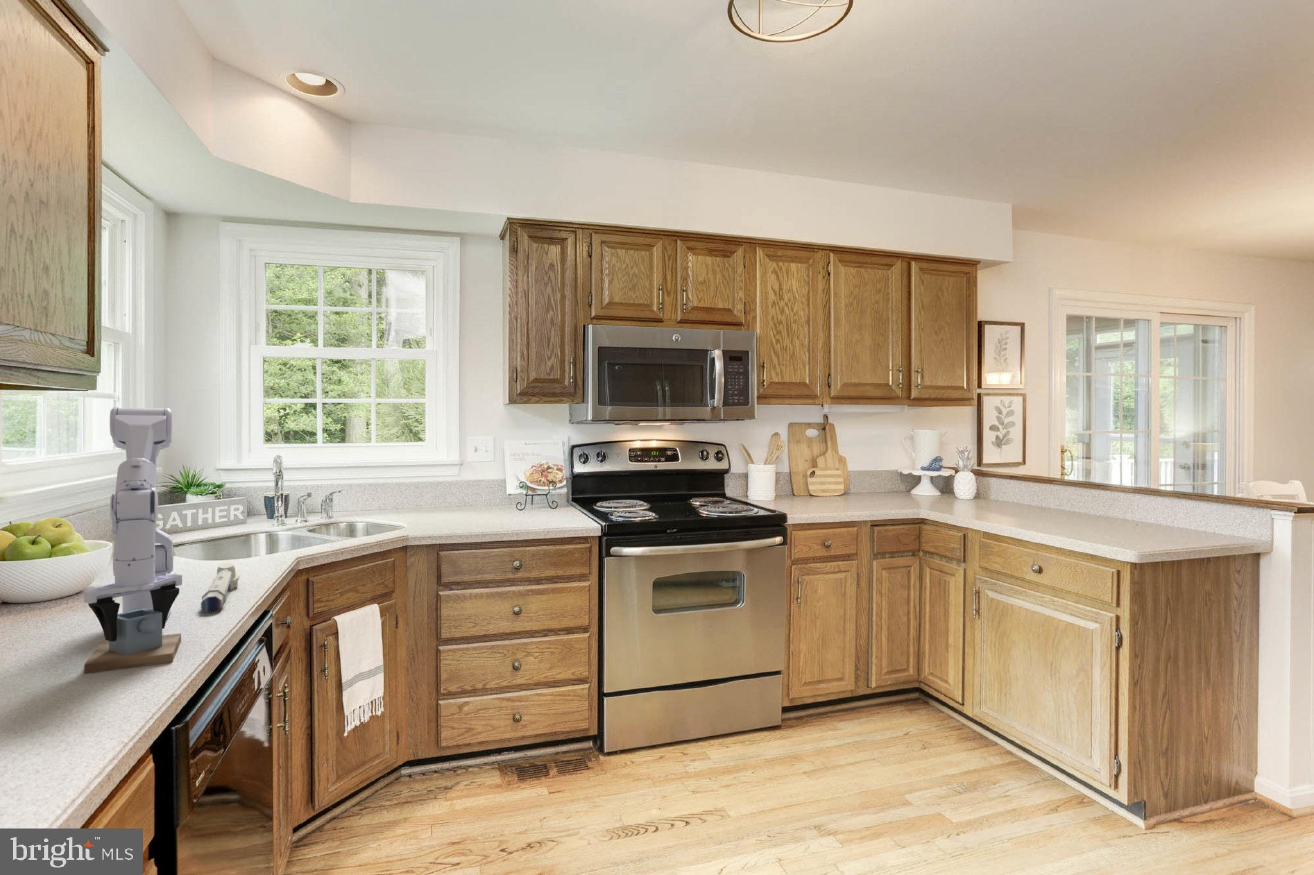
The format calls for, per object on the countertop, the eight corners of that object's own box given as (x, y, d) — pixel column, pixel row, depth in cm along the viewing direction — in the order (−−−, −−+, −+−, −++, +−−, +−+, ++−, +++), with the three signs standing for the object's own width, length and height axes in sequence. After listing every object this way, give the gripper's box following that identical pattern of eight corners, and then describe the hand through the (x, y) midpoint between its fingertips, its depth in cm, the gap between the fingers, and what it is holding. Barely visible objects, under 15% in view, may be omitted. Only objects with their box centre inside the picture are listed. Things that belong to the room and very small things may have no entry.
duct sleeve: (108, 649, 120) (108, 615, 120) (144, 640, 125) (144, 608, 125) (133, 657, 117) (132, 622, 117) (168, 647, 122) (168, 614, 122)
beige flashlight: (196, 597, 147) (215, 557, 169) (197, 626, 148) (216, 583, 170) (225, 594, 149) (240, 556, 171) (226, 623, 150) (240, 581, 172)
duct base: (100, 650, 124) (100, 623, 124) (181, 641, 130) (180, 614, 130) (84, 673, 114) (84, 643, 113) (172, 661, 119) (172, 633, 119)
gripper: (99, 568, 113) (100, 650, 113) (191, 552, 126) (192, 626, 126) (76, 563, 116) (77, 643, 116) (169, 548, 129) (169, 620, 129)
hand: (135, 633), depth 122 cm, fingers open, 7 cm apart
